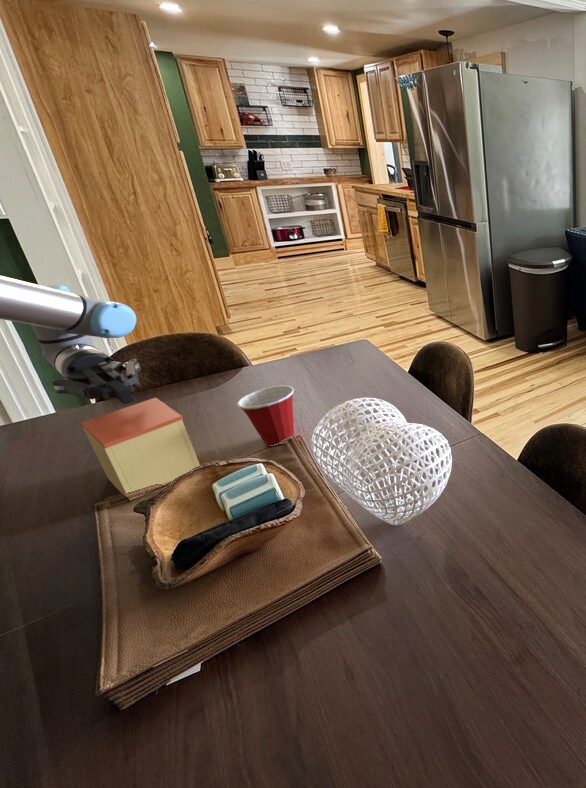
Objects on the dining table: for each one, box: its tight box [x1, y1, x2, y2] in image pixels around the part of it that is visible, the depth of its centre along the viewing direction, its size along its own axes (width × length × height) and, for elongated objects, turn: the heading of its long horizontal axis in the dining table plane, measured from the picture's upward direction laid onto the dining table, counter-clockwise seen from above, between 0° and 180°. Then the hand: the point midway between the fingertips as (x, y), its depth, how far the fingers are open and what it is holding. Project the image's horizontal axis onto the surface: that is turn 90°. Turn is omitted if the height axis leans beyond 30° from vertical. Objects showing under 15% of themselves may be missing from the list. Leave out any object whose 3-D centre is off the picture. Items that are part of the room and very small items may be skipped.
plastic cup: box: [236, 384, 295, 447], centre depth 108 cm, size 11×11×12 cm
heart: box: [310, 397, 453, 526], centre depth 83 cm, size 28×16×22 cm, turn 53°
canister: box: [81, 419, 201, 494], centre depth 96 cm, size 13×12×13 cm
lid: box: [80, 397, 184, 448], centre depth 93 cm, size 14×12×1 cm
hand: (126, 396), depth 89 cm, fingers closed
